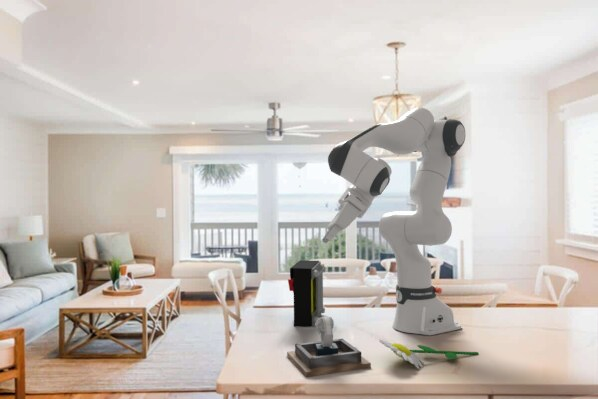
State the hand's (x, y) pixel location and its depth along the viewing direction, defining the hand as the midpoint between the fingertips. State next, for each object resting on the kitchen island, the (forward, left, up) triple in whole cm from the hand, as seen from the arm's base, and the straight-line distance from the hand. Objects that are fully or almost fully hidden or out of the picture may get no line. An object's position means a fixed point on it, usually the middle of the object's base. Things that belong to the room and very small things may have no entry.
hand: (325, 240), depth 146 cm
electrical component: (-4, -27, -32) cm, 42 cm away
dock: (+5, +14, -31) cm, 35 cm away
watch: (+6, +14, -30) cm, 34 cm away
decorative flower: (-22, +22, -32) cm, 44 cm away
